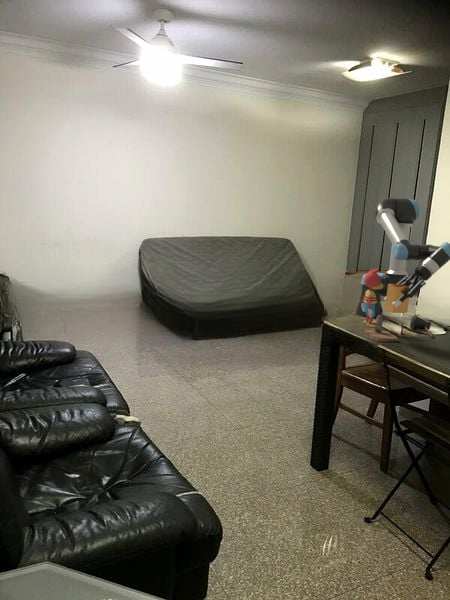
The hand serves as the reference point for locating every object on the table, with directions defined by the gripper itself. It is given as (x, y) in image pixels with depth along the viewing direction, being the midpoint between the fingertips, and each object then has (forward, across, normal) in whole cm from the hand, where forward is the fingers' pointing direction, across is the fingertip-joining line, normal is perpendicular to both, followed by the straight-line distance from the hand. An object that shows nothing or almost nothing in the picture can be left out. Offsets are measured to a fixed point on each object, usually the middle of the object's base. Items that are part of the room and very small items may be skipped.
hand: (390, 303), depth 228 cm
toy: (+11, +21, -14) cm, 28 cm away
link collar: (0, 0, -5) cm, 5 cm away
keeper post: (+13, +2, -11) cm, 17 cm away
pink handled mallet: (-4, +8, -30) cm, 31 cm away
